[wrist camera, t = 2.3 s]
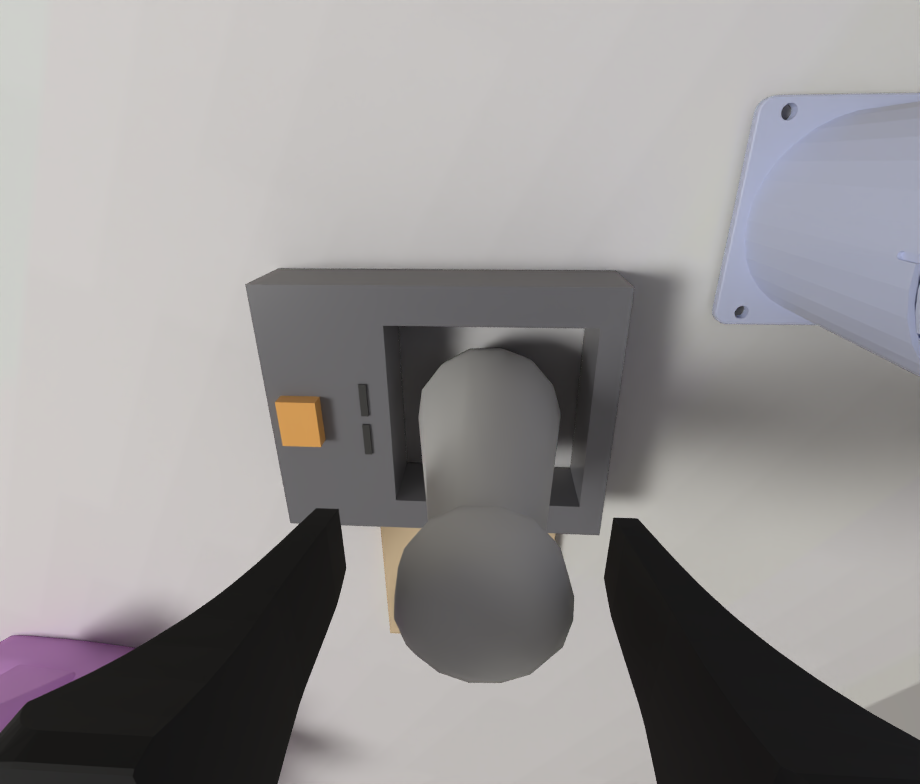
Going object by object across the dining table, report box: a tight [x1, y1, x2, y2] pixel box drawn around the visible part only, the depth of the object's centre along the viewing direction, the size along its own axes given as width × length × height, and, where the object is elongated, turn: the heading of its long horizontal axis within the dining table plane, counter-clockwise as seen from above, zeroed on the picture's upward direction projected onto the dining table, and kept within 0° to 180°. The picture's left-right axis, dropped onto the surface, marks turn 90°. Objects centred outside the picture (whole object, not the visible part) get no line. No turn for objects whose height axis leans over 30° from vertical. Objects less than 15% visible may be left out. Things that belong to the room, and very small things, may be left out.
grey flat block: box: [245, 269, 634, 535], centre depth 21 cm, size 14×11×4 cm
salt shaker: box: [394, 348, 574, 683], centre depth 17 cm, size 6×6×13 cm
